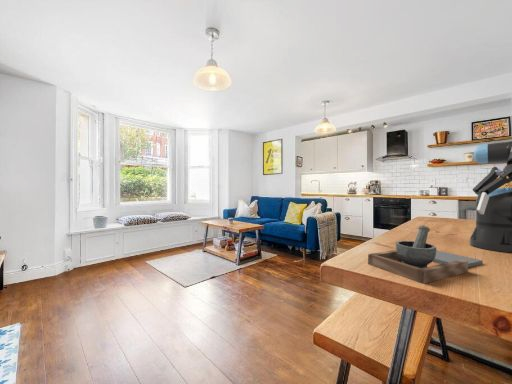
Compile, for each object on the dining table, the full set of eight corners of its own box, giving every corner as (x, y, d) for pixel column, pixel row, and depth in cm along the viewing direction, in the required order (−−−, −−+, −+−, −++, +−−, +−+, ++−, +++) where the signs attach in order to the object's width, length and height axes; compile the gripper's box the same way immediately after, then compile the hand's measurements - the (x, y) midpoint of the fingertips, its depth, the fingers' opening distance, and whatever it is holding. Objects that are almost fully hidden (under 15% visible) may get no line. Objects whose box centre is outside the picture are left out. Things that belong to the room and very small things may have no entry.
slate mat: (432, 252, 87) (433, 249, 87) (482, 263, 74) (482, 260, 74) (411, 255, 82) (412, 253, 82) (461, 269, 69) (461, 265, 69)
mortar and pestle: (423, 276, 63) (424, 231, 62) (388, 266, 71) (389, 225, 71) (443, 269, 68) (444, 227, 68) (409, 260, 77) (410, 223, 76)
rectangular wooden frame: (410, 256, 81) (410, 247, 81) (467, 271, 67) (468, 261, 67) (368, 263, 73) (368, 254, 73) (423, 283, 58) (424, 271, 58)
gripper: (471, 153, 84) (453, 205, 79) (591, 136, 61) (574, 208, 56) (482, 165, 86) (464, 216, 81) (601, 154, 63) (586, 224, 58)
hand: (509, 213), depth 69 cm, fingers open, 13 cm apart
